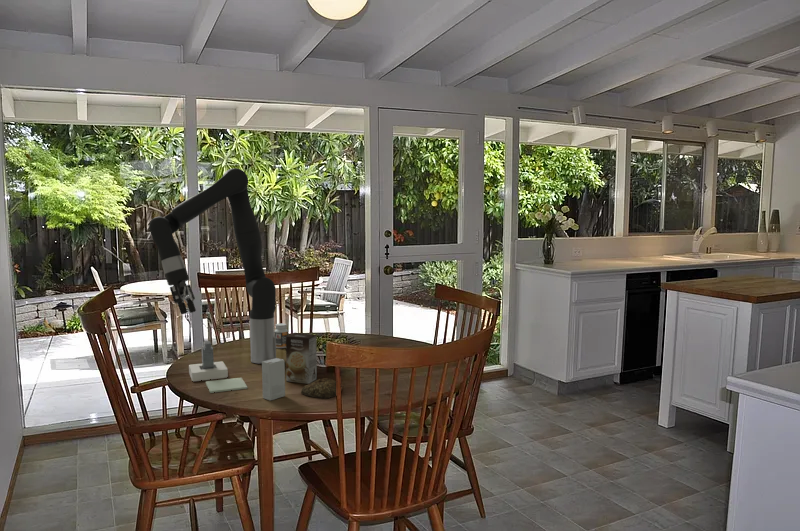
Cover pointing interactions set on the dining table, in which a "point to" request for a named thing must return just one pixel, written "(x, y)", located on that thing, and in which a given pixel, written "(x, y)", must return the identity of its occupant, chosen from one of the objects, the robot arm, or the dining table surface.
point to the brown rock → (320, 388)
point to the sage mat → (226, 385)
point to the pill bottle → (281, 335)
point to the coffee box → (301, 358)
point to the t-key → (207, 356)
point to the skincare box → (273, 378)
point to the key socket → (208, 372)
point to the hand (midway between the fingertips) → (188, 312)
